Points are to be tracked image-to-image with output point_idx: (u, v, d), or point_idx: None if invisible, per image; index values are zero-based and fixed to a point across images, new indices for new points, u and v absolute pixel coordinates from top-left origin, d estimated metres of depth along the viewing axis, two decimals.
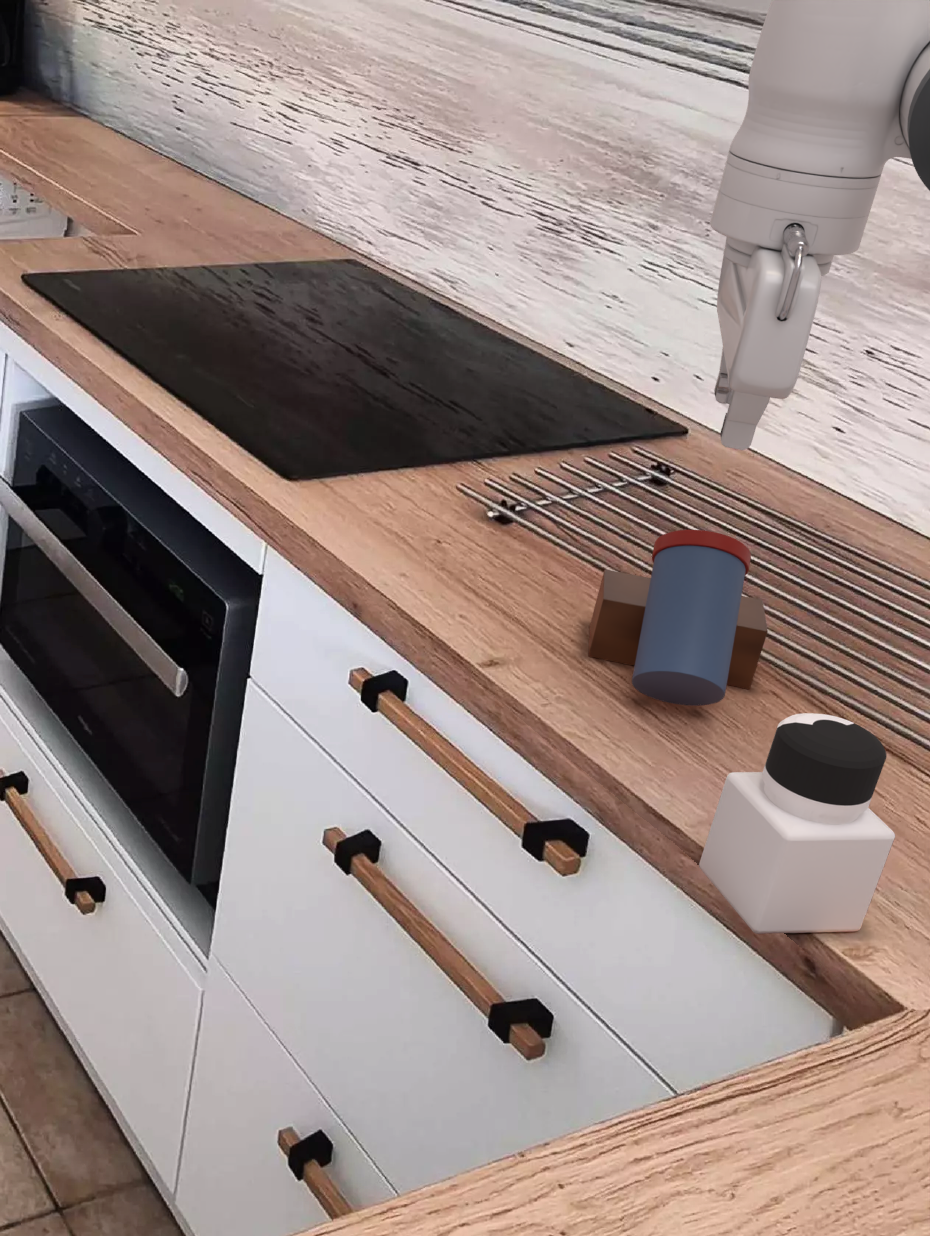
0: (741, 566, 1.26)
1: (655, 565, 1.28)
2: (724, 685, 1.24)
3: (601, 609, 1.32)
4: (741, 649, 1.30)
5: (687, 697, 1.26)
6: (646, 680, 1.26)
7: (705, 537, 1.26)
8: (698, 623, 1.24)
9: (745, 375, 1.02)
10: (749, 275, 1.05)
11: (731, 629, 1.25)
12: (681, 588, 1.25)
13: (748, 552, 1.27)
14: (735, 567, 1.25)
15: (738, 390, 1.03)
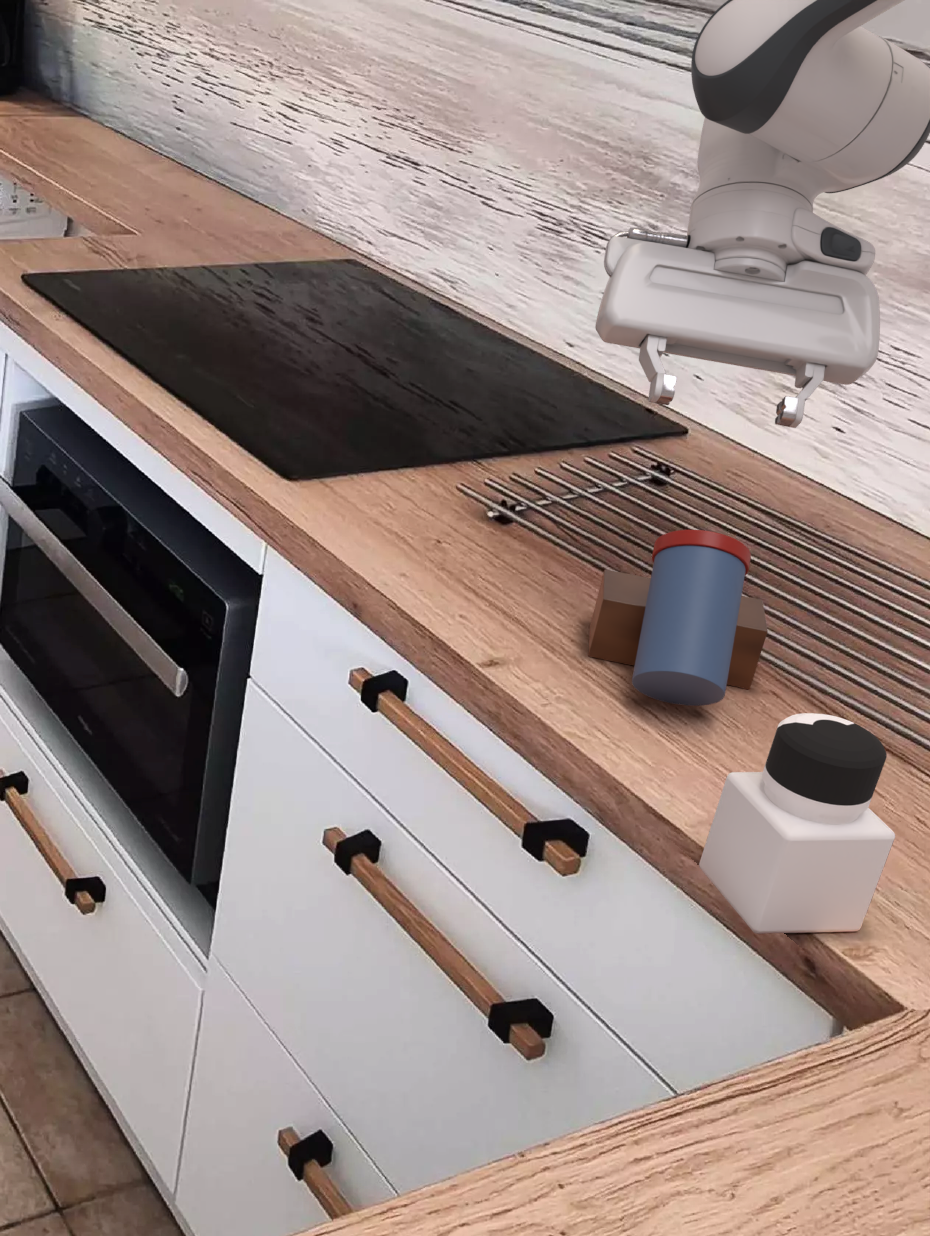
0: (741, 566, 1.26)
1: (655, 565, 1.28)
2: (724, 685, 1.24)
3: (601, 609, 1.32)
4: (741, 649, 1.30)
5: (687, 697, 1.26)
6: (646, 680, 1.26)
7: (705, 537, 1.26)
8: (698, 623, 1.24)
9: (596, 323, 1.33)
10: None
11: (731, 629, 1.25)
12: (681, 588, 1.25)
13: (748, 552, 1.27)
14: (735, 567, 1.25)
15: (602, 338, 1.33)
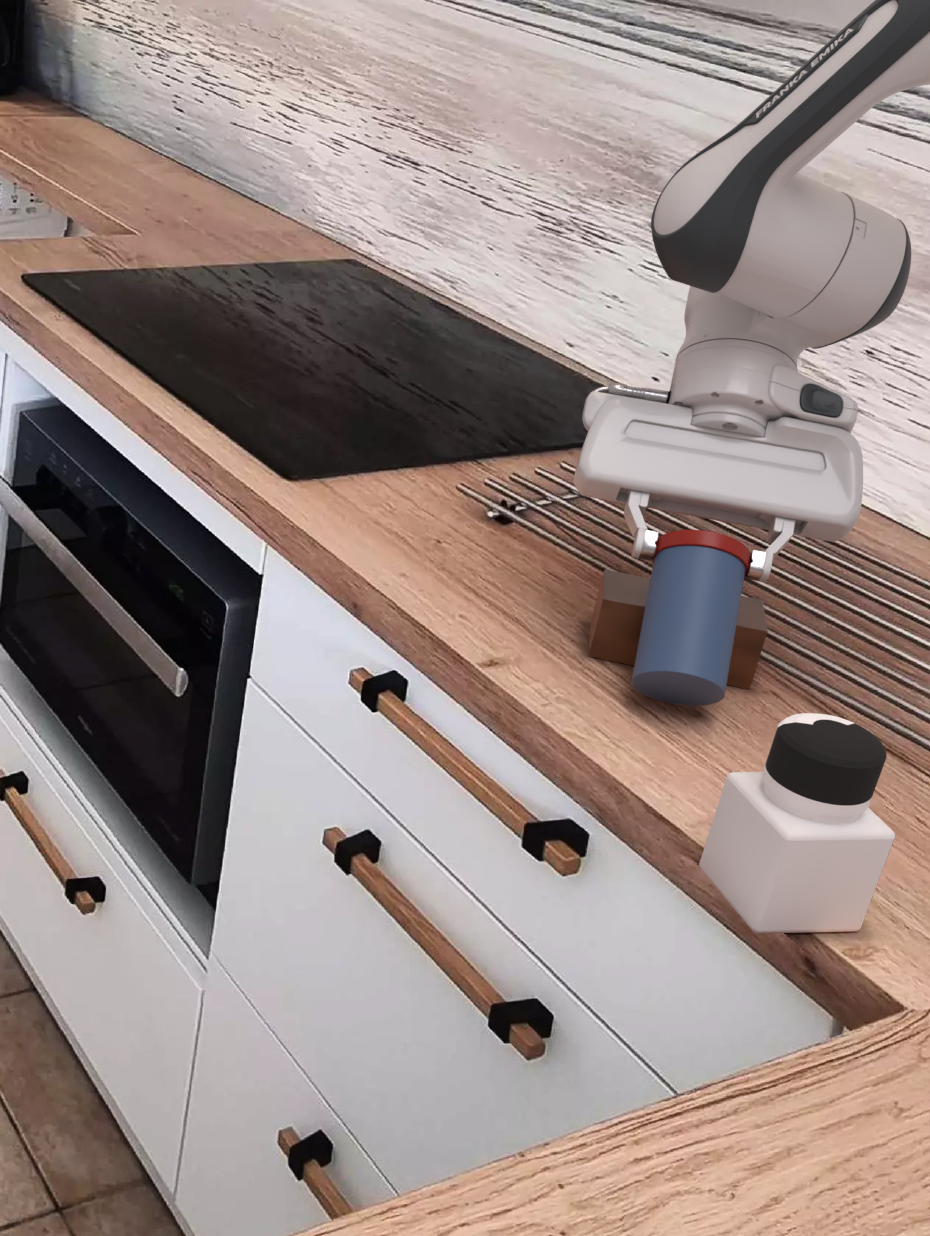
0: (741, 566, 1.26)
1: (655, 565, 1.28)
2: (724, 685, 1.24)
3: (601, 609, 1.32)
4: (741, 649, 1.30)
5: (687, 697, 1.26)
6: (646, 680, 1.26)
7: (704, 537, 1.26)
8: (698, 623, 1.24)
9: None
10: None
11: (731, 629, 1.25)
12: (681, 588, 1.25)
13: (748, 552, 1.27)
14: (735, 567, 1.25)
15: (579, 491, 1.33)
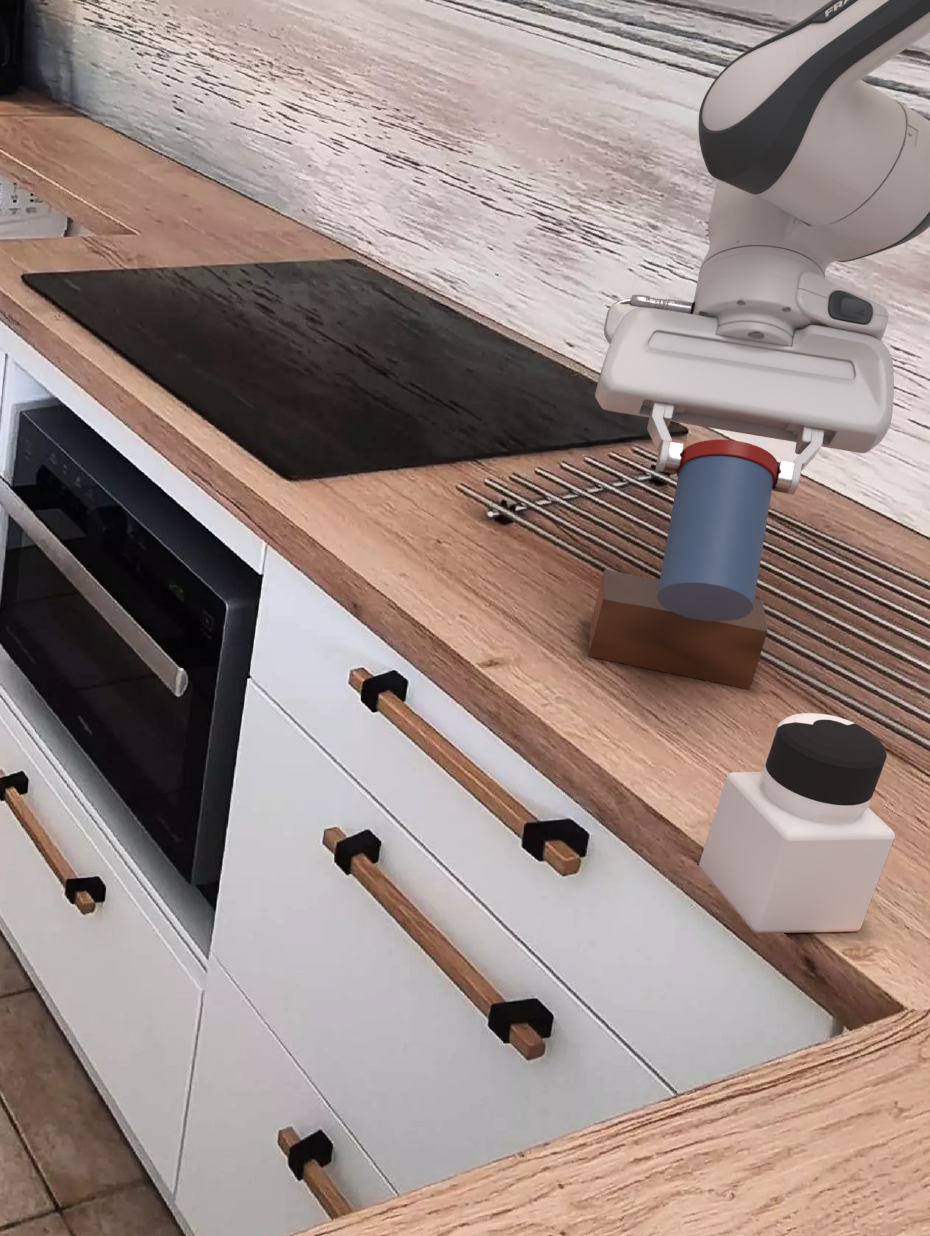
0: (769, 477, 1.23)
1: (680, 478, 1.25)
2: (752, 597, 1.20)
3: (601, 609, 1.32)
4: (741, 649, 1.30)
5: (714, 612, 1.23)
6: (672, 594, 1.22)
7: (731, 446, 1.22)
8: (726, 533, 1.20)
9: None
10: None
11: (759, 540, 1.21)
12: (707, 499, 1.22)
13: (776, 462, 1.23)
14: (762, 477, 1.22)
15: (601, 405, 1.29)
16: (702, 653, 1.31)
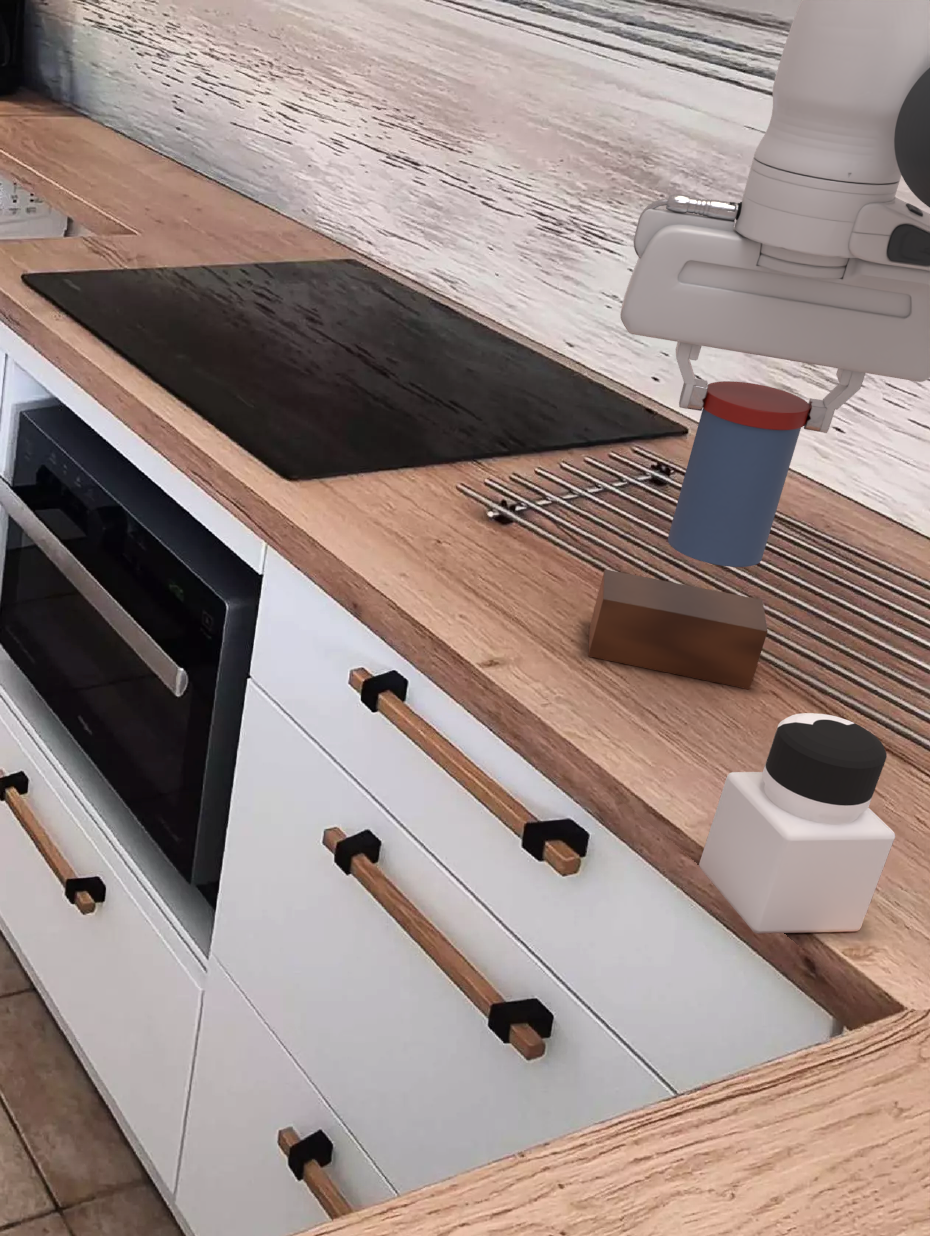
0: (794, 433, 1.16)
1: (701, 422, 1.18)
2: (760, 557, 1.20)
3: (601, 609, 1.32)
4: (741, 649, 1.30)
5: None
6: None
7: (752, 417, 1.15)
8: (734, 511, 1.18)
9: (622, 304, 1.18)
10: None
11: (773, 503, 1.18)
12: (721, 471, 1.17)
13: (805, 414, 1.15)
14: (785, 440, 1.16)
15: None
16: (702, 653, 1.31)
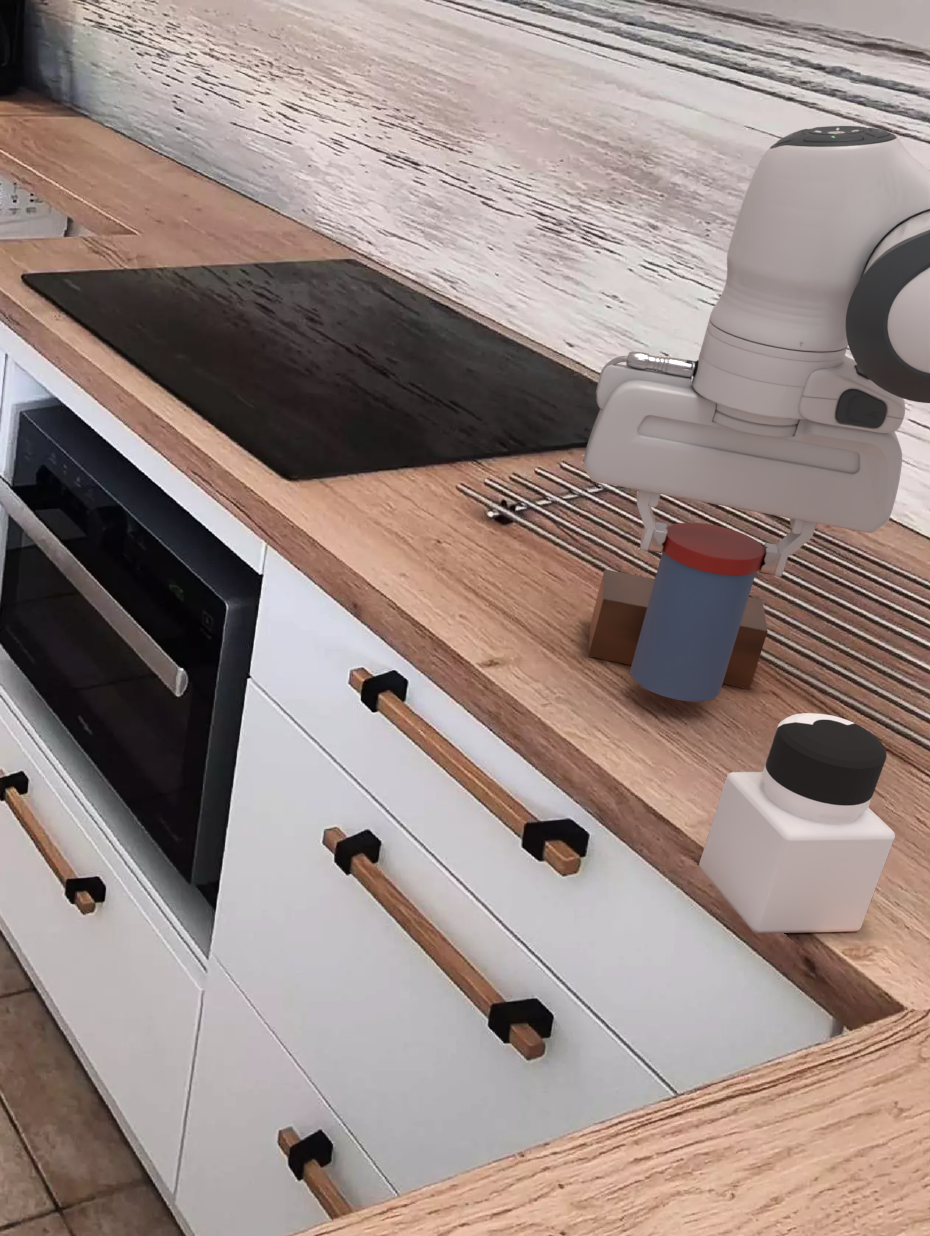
0: (749, 577, 1.21)
1: (661, 564, 1.23)
2: (718, 691, 1.25)
3: (601, 609, 1.32)
4: (741, 649, 1.30)
5: None
6: None
7: (708, 563, 1.20)
8: (693, 650, 1.23)
9: None
10: None
11: (730, 642, 1.23)
12: (679, 612, 1.22)
13: (759, 560, 1.20)
14: (740, 584, 1.21)
15: None
16: None
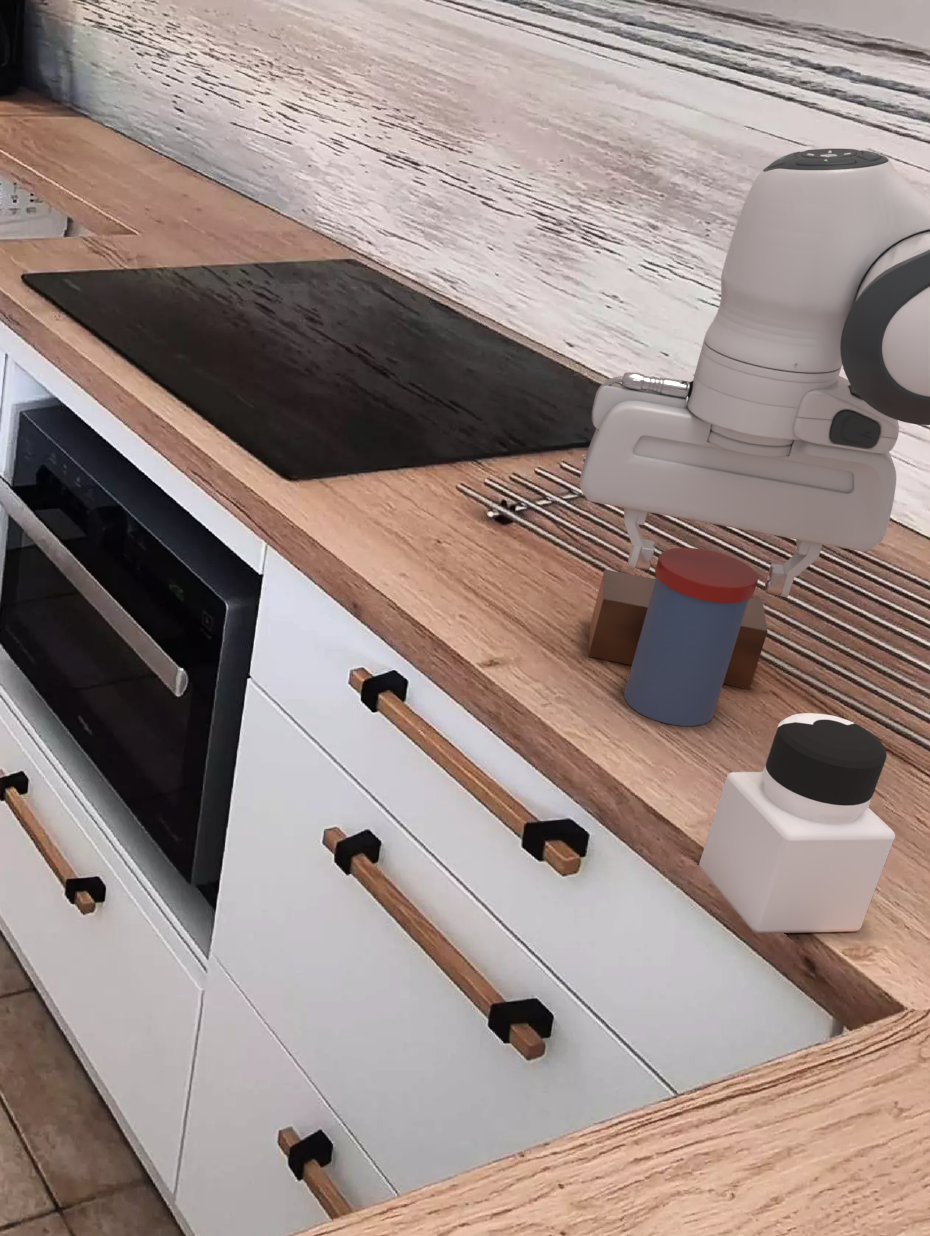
0: (742, 604, 1.22)
1: (655, 590, 1.24)
2: (711, 715, 1.26)
3: (601, 609, 1.32)
4: (741, 649, 1.30)
5: None
6: None
7: (702, 591, 1.20)
8: (686, 676, 1.24)
9: None
10: None
11: (723, 667, 1.24)
12: (673, 638, 1.23)
13: (752, 587, 1.21)
14: (733, 611, 1.21)
15: None
16: None
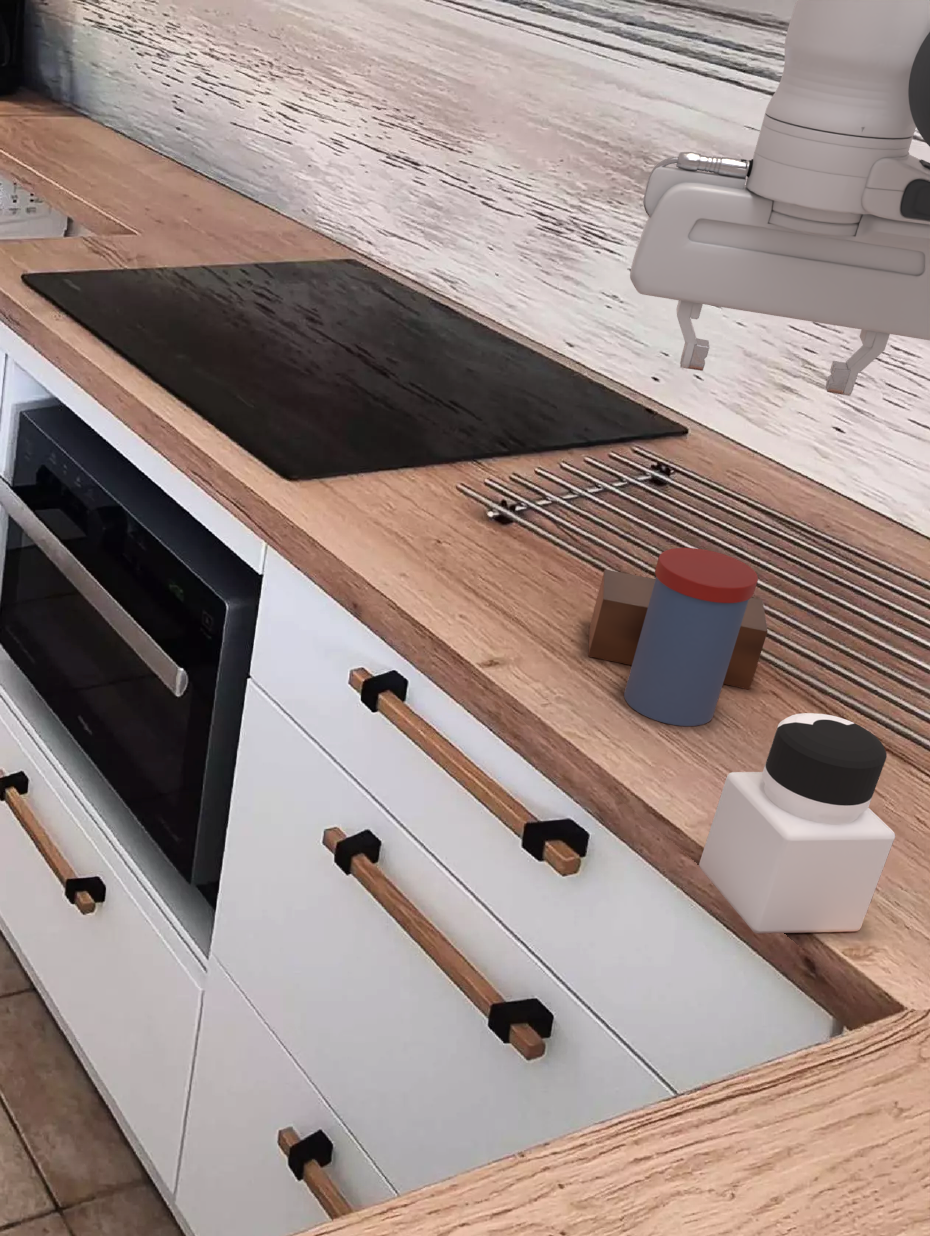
0: (742, 604, 1.22)
1: (655, 590, 1.24)
2: (711, 715, 1.26)
3: (601, 609, 1.32)
4: (741, 649, 1.30)
5: None
6: None
7: (702, 591, 1.20)
8: (686, 676, 1.24)
9: (632, 264, 1.17)
10: None
11: (723, 667, 1.24)
12: (673, 638, 1.23)
13: (752, 587, 1.21)
14: (733, 611, 1.21)
15: None
16: None
